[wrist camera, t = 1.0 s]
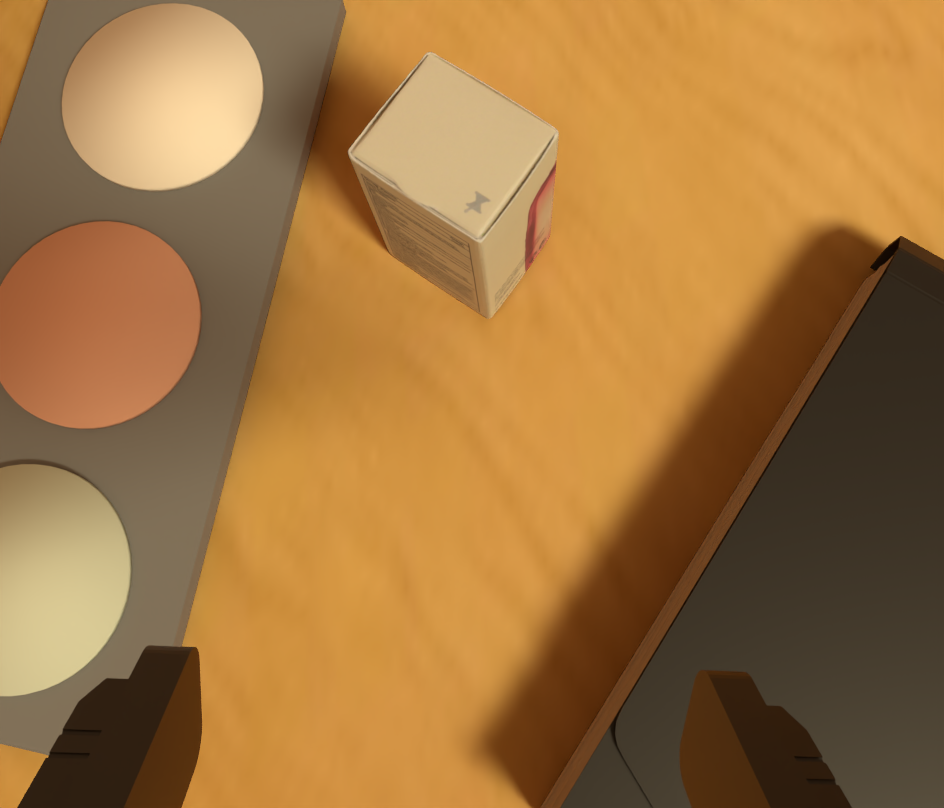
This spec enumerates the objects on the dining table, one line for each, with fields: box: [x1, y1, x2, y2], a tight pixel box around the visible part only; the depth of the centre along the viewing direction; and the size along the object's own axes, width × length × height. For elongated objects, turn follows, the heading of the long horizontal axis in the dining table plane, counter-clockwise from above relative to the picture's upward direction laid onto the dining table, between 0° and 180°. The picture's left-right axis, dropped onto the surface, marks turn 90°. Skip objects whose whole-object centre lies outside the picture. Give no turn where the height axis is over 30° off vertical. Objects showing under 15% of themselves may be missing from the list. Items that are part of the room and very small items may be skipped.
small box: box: [348, 52, 559, 319], centre depth 28 cm, size 5×4×8 cm
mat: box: [0, 0, 346, 755], centre depth 31 cm, size 30×12×1 cm, turn 168°
